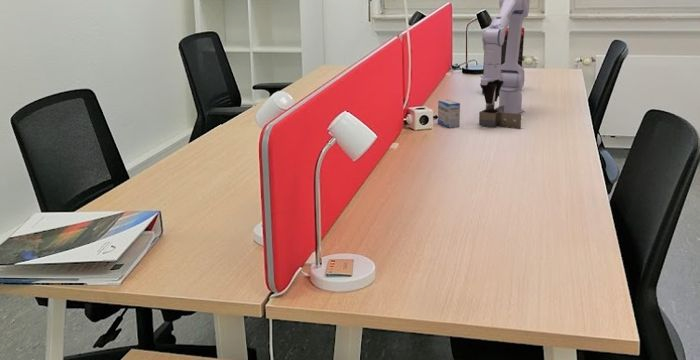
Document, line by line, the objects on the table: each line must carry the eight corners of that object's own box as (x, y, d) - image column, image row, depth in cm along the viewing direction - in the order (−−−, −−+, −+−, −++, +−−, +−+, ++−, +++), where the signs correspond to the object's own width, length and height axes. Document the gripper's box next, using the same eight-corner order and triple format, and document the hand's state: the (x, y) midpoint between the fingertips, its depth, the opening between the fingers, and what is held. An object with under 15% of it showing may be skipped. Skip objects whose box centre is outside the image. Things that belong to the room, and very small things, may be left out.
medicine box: (437, 123, 275) (437, 100, 272) (448, 122, 277) (448, 98, 274) (449, 128, 268) (449, 104, 266) (459, 126, 270) (460, 102, 267)
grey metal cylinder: (487, 107, 272) (489, 84, 269) (496, 108, 270) (498, 85, 267) (483, 109, 269) (484, 86, 266) (492, 110, 267) (494, 87, 265)
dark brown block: (495, 118, 281) (495, 104, 280) (510, 119, 278) (511, 106, 277) (479, 125, 270) (479, 112, 269) (495, 127, 267) (495, 113, 266)
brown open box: (486, 122, 275) (486, 108, 274) (523, 126, 268) (524, 112, 266) (479, 125, 270) (479, 112, 269) (516, 130, 263) (517, 116, 261)
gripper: (490, 59, 272) (489, 97, 276) (472, 65, 261) (471, 105, 265) (509, 61, 269) (507, 99, 273) (492, 67, 257) (490, 106, 261)
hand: (491, 102), depth 269 cm, fingers closed on grey metal cylinder, 3 cm apart
